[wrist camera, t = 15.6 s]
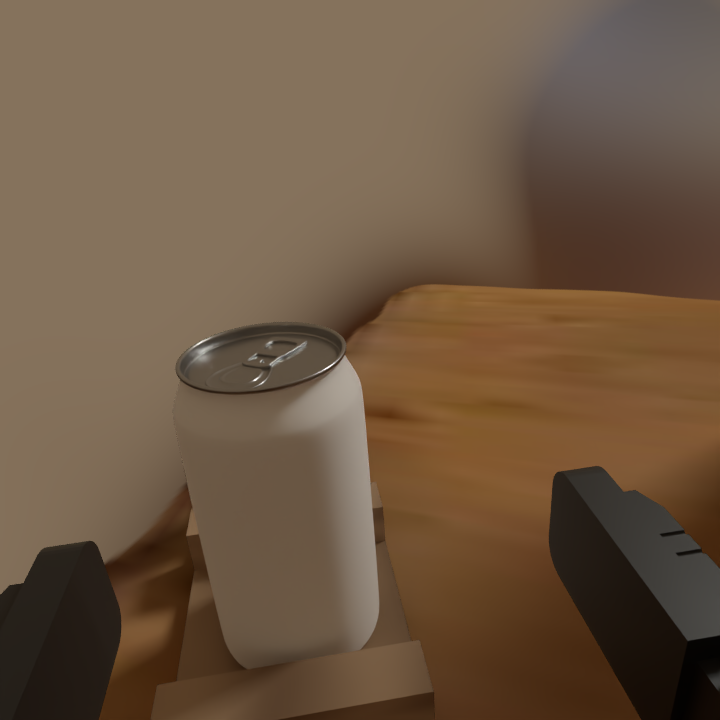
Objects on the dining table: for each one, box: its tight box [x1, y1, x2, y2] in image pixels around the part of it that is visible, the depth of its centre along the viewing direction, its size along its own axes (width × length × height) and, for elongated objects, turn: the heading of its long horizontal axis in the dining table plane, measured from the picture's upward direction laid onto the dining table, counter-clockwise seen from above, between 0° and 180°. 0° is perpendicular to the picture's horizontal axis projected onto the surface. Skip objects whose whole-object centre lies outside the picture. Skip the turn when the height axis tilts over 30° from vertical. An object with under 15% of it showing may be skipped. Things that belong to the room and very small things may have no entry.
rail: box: [150, 482, 435, 720], centre depth 29 cm, size 9×21×3 cm, turn 8°
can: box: [173, 322, 379, 669], centre depth 22 cm, size 6×6×12 cm
